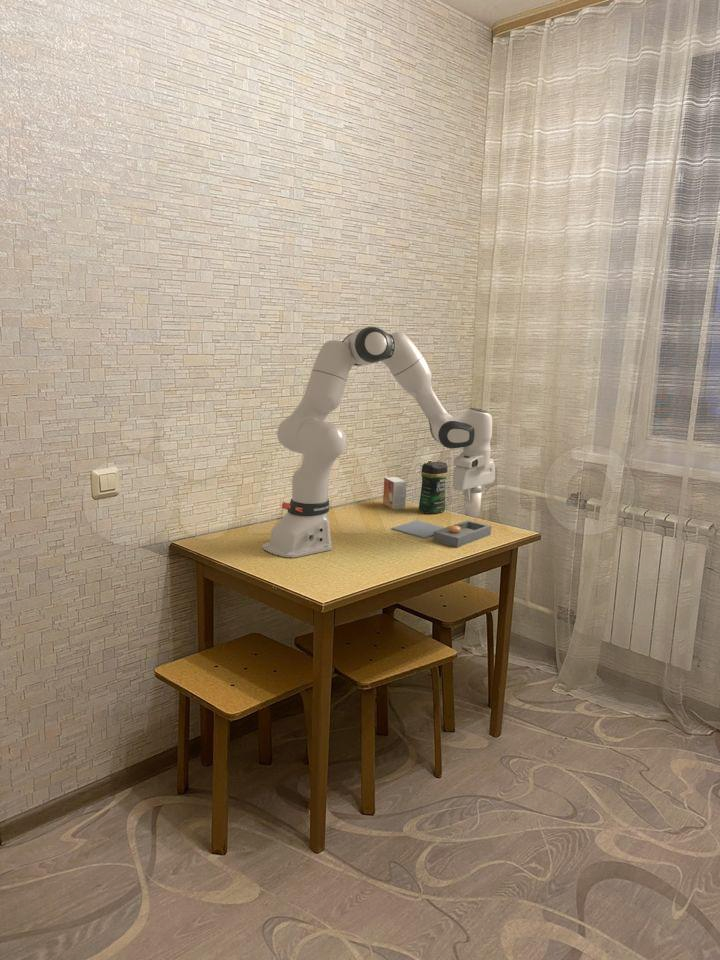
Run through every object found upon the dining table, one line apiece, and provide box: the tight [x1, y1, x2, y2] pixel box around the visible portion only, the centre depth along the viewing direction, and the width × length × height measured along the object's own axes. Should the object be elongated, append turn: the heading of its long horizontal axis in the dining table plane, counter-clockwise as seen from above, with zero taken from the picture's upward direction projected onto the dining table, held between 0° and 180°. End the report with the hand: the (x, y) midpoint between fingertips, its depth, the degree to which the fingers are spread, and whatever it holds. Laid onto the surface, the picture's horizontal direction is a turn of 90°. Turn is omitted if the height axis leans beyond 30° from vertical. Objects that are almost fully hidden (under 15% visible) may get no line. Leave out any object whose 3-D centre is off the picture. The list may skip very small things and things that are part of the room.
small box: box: [382, 476, 408, 510], centre depth 278 cm, size 8×6×10 cm
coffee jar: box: [418, 460, 449, 515], centre depth 272 cm, size 10×8×19 cm
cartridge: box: [464, 485, 483, 518], centre depth 244 cm, size 5×5×10 cm
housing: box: [432, 519, 492, 548], centre depth 243 cm, size 20×9×3 cm, turn 139°
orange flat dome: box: [448, 524, 461, 533], centre depth 239 cm, size 4×4×1 cm
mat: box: [390, 519, 446, 539], centre depth 250 cm, size 14×14×1 cm
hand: (473, 499), depth 244 cm, fingers closed on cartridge, 5 cm apart
